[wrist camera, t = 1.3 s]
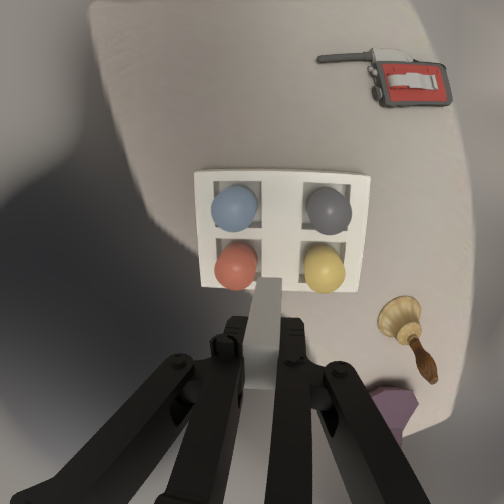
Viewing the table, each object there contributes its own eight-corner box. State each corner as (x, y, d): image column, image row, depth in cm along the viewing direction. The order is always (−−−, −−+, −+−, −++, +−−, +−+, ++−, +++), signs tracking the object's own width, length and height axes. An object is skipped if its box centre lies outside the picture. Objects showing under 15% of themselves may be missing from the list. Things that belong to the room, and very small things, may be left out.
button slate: (217, 184, 35) (209, 189, 31) (257, 184, 35) (254, 189, 31) (219, 223, 37) (211, 232, 33) (257, 223, 36) (254, 232, 33)
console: (202, 169, 38) (193, 172, 34) (362, 173, 36) (370, 176, 32) (208, 274, 44) (201, 286, 40) (351, 279, 42) (357, 292, 38)
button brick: (220, 241, 38) (212, 252, 34) (257, 242, 37) (254, 253, 33) (221, 275, 40) (215, 289, 36) (257, 277, 39) (254, 291, 35)
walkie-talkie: (436, 55, 28) (314, 55, 31) (450, 48, 23) (317, 45, 27) (449, 108, 30) (328, 113, 34) (465, 106, 26) (333, 109, 30)
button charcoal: (306, 185, 34) (309, 190, 30) (346, 187, 33) (353, 193, 30) (305, 225, 36) (307, 234, 32) (343, 226, 35) (350, 236, 31)
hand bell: (424, 293, 41) (467, 352, 26) (415, 333, 44) (447, 395, 29) (381, 297, 42) (414, 363, 27) (374, 338, 45) (397, 406, 30)
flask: (376, 426, 54) (388, 493, 36) (327, 410, 53) (332, 489, 34) (426, 385, 48) (454, 455, 30) (381, 363, 47) (406, 448, 28)
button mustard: (304, 243, 37) (306, 255, 33) (341, 245, 36) (347, 256, 32) (301, 278, 38) (303, 293, 35) (338, 279, 38) (342, 293, 34)
